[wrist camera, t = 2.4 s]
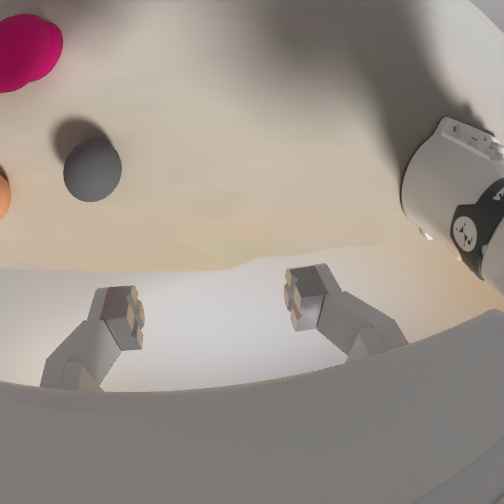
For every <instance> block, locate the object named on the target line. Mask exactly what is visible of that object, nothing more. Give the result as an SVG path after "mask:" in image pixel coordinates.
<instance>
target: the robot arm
mask: <svg viewBox="0 0 504 504" xmlns="http://www.w3.org/2000/svg"><path fill="white" fill-rule="evenodd" d="M503 153H504V147H503V146H502V145H500V142H499V140H498V139H497V138H495V137H494V136H492V135H490V134H488V133H486V132H483V131H481V130H479V129H477V128H474V127H472V126H470V125H467V124H465V123H462V122H460V121H457V120H455V119H452V118H449V117H444V118H443V119H442V120H441V121H440V123H439V125H438V127H437V129H436V131H435V132H434V134H433V135H432V136H431V137H430V138H429V139H428V140H427V141H426V142H425V143H423V145H422V146H421V147H420V148H419V149H418V150H417V152H416V153H415V154H414V156H413V158H412V159H411V161H410V163H409V165H408V168H407V170H406V173H405V176H404V180H403V185H402V206H403V209H404V212H405V214H406V216H407V218H408V219H409V220H410V221H411V222H412V223H414V224H416V225H417V226H419V227H420V229H421V232H422V234H423V236H424V237H425V238H426V239H428V240H432V239H434V240H435V241H436V242H438V243H439V244H440V245H441V246H442V247H444V248H445V249H446V250H447V251H448V252H450V253H451V254H452V255H453V256H454V257H456V258H457V259H459V260H462V261H463V262H464V263H465V264H466V265H467V266H468V267H469V270H470V271H471V272H472V273H473V274H475V275H476V276H477V277H478V278H479V279H481V280H486V282H487V283H488V284H489V285H490V286H491V287H492V288H493V290H494V291H495V292H496V293H497V295H498V296H499V297H500V299H501V300H502V301H503V302H504V157H503ZM285 277H286V280H287V283H286V285H285V286H284V299H285V303H286V307H287V309H288V310H289V311H291V321H292V324H293V326H294V329H295V331H296V332H297V331H303V330H310V329H316V328H317V330H318V331H319V332H320V333H322V334H323V335H324V336H325V337H326V338H327V339H329V340H330V341H331V342H332V343H333V344H335V345H336V346H337V347H338V348H339V349H341V350H342V351H343V352H344V353H345V354H347V355H348V358H347V360H346V362H345V364H342V365H337V366H333V367H329V368H325V369H321V370H316V371H312V372H307V373H303V374H298V375H293V376H288V377H282V378H277V379H271V380H266V381H259V382H252V383H246V384H238V385H231V386H222V387H213V388H204V389H192V390H178V391H158V392H104V391H103V390H102V389H101V388H100V386H99V385H100V384H101V382H102V381H103V379H104V377H105V376H106V374H107V373H108V371H109V370H110V368H111V367H112V365H113V364H114V362H115V361H116V359H117V358H118V356H119V355H120V353H121V351H125V350H139V349H142V342H143V334H142V332H141V329H142V327H143V326H144V320H145V319H144V310H143V306H142V303H141V301H139V300H138V299H137V296H138V292H137V290H136V287H135V286H120V287H108V288H98V289H97V290H96V291H95V294H94V298H93V301H92V304H91V308H90V312H89V315H88V318H87V320H86V321H83V322H82V323H81V324H80V325H79V326H78V327H77V328H76V329H75V330H74V331H73V332H72V333H71V334H70V335H69V336H68V337H67V338H66V339H65V340H64V341H63V342H62V343H61V344H60V346H59V347H58V348H57V349H56V350H55V351H54V352H53V353H52V354H51V355H50V356H49V357H48V358H47V359H46V363H45V367H44V371H43V375H42V379H41V383H40V387H36V386H28V385H22V384H15V383H9V382H4V381H0V504H504V312H502V311H500V310H497V309H492V310H489V311H487V312H485V313H483V314H481V315H479V316H477V317H475V318H473V319H471V320H468V321H466V322H464V323H461V324H459V325H457V326H454V327H452V328H450V329H447V330H445V331H442V332H440V333H437V334H435V335H432V336H430V337H427V338H424V339H421V340H419V341H416V342H413V343H410V344H409V343H408V341H407V340H406V338H405V336H404V335H403V333H402V331H401V330H400V328H399V326H398V325H397V323H396V322H395V320H394V319H392V318H390V317H389V316H387V315H385V314H384V313H382V312H380V311H379V310H377V309H375V308H374V307H372V306H370V305H368V304H367V303H365V302H363V301H362V300H360V299H358V298H357V297H355V296H353V295H351V294H350V293H348V292H346V291H345V292H342V290H341V288H340V286H339V285H338V283H337V282H336V280H335V278H334V276H333V274H332V273H331V271H330V269H329V267H328V266H327V265H326V264H325V263H323V264H316V265H312V266H304V267H296V268H288V269H287V270H286V275H285Z"/></svg>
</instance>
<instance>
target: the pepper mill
mask: <svg viewBox="0 0 504 504" xmlns="http://www.w3.org/2000/svg"><path fill="white" fill-rule="evenodd" d="M62 46H63V38H62V34H61V31H60V30H59V28H58V27H57V26H56V25H54V24H52V23H48V22H44V21H43V20H42V19H41V18H40V17H38V16H36V15H32V14H19V15H15V16H12V17H9V18H6V19H4V20H2V21H0V93H6V92H12V91H15V90H18V89H20V88H22V87H23V86H25V85H26V84H27V83H29V82H32V81H36V80H39V79H41V78H43V77H44V76H46V75H47V74H48V73H49V72H50V71H51V70H52V69H53V67H54V66H55V64H56V63H57V61H58V59H59V57H60V54H61V51H62Z"/></svg>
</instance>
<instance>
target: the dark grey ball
mask: <svg viewBox="0 0 504 504" xmlns="http://www.w3.org/2000/svg"><path fill="white" fill-rule="evenodd" d="M121 171H122V166H121V160H120V157H119V155H118V153H117V151H116V150H115V149H114V148H113V147H112V146H111V145H110V144H108V143H106V142H104V141H100V140H90V141H86V142H83V143H81V144H80V145H78V146H77V147H75V148H74V149H73V150H72V151H71V153H70V154H69V156H68V157H67V159H66V162H65V165H64V170H63V176H64V182H65V185H66V187H67V189H68V190H69V192H70V193H71V194H72V195H73V196H74V197H76V198H77V199H79V200H82V201H86V202H95V201H99V200H101V199H104V198H105V197H107V196H108V195H109V194H111V193H112V192H113V190H114V189H115V188H116V186H117V185H118V182H119V180H120V177H121Z"/></svg>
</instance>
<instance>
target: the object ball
mask: <svg viewBox="0 0 504 504" xmlns="http://www.w3.org/2000/svg"><path fill="white" fill-rule="evenodd" d="M10 201H11V192H10V187H9V185H8V183H7V181H6V180H5V178H4V177H2V176H1V175H0V220H1V219H2V218H3V217H4V216H5V214H6V213H7V211H8V208H9V206H10Z"/></svg>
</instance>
